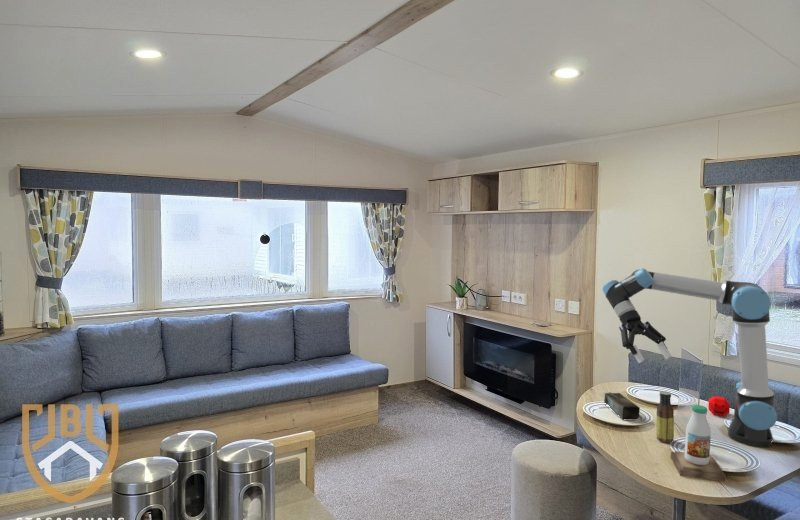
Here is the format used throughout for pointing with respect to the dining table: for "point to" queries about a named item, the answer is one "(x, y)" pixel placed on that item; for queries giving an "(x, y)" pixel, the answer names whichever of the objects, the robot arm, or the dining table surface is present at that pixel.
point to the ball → (718, 406)
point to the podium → (697, 468)
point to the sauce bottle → (665, 419)
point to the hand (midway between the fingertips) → (655, 359)
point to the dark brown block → (622, 406)
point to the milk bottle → (698, 437)
